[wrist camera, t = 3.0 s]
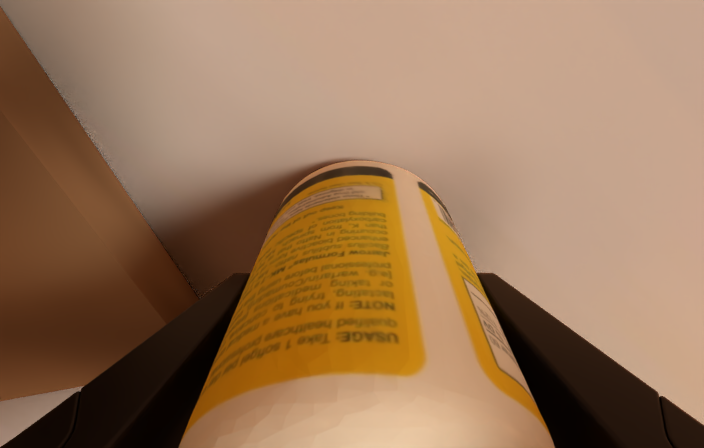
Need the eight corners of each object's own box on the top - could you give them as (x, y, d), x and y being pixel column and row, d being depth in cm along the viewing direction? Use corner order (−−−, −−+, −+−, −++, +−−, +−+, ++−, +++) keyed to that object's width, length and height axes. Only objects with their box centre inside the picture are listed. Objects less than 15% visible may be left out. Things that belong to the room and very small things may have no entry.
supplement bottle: (254, 270, 10) (-12, 892, 3) (312, 122, 8) (-186, 1177, 1) (398, 321, 11) (468, 891, 4) (486, 202, 9) (1048, 1016, 2)
